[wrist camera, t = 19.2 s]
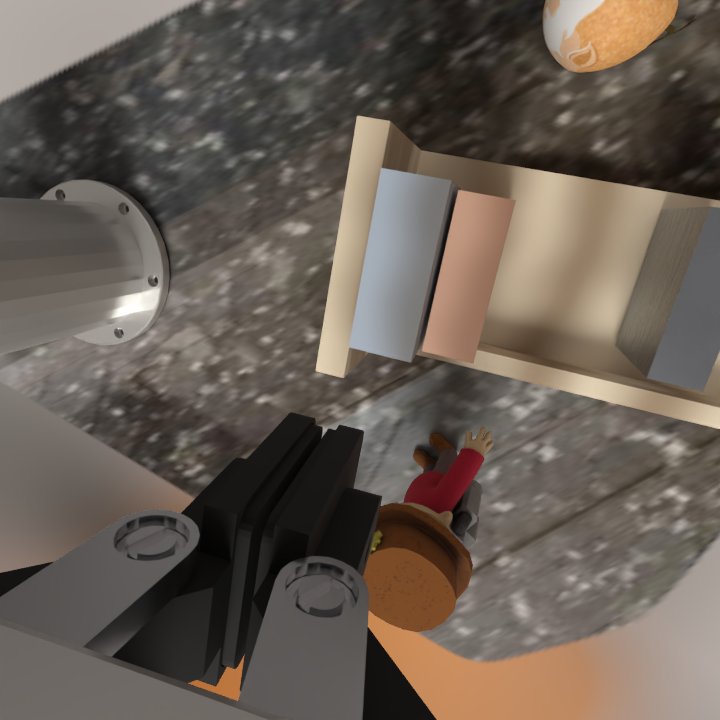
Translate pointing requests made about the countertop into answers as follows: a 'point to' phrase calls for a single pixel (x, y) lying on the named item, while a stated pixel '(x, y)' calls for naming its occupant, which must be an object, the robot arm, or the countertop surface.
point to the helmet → (604, 30)
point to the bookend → (677, 301)
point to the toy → (428, 538)
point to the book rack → (495, 272)
